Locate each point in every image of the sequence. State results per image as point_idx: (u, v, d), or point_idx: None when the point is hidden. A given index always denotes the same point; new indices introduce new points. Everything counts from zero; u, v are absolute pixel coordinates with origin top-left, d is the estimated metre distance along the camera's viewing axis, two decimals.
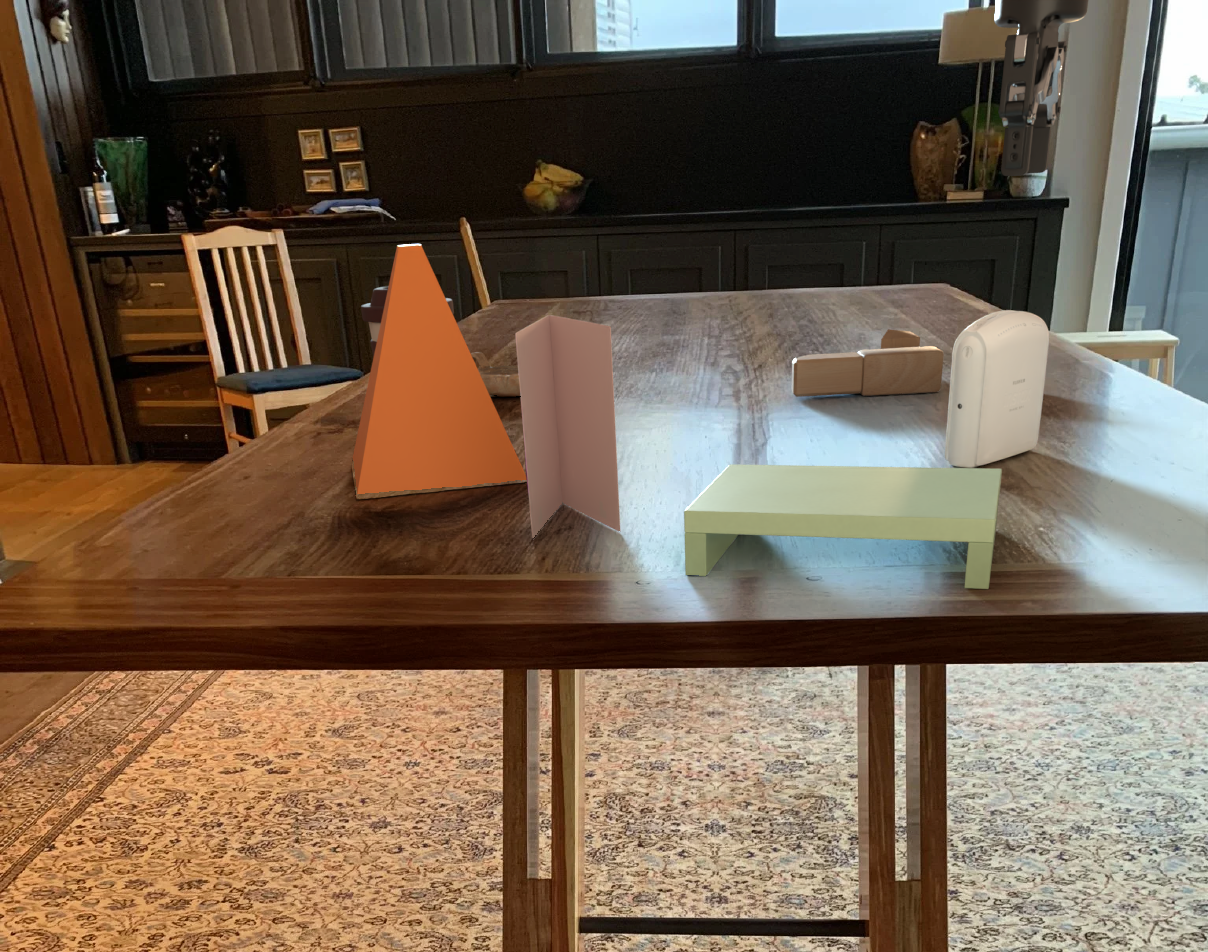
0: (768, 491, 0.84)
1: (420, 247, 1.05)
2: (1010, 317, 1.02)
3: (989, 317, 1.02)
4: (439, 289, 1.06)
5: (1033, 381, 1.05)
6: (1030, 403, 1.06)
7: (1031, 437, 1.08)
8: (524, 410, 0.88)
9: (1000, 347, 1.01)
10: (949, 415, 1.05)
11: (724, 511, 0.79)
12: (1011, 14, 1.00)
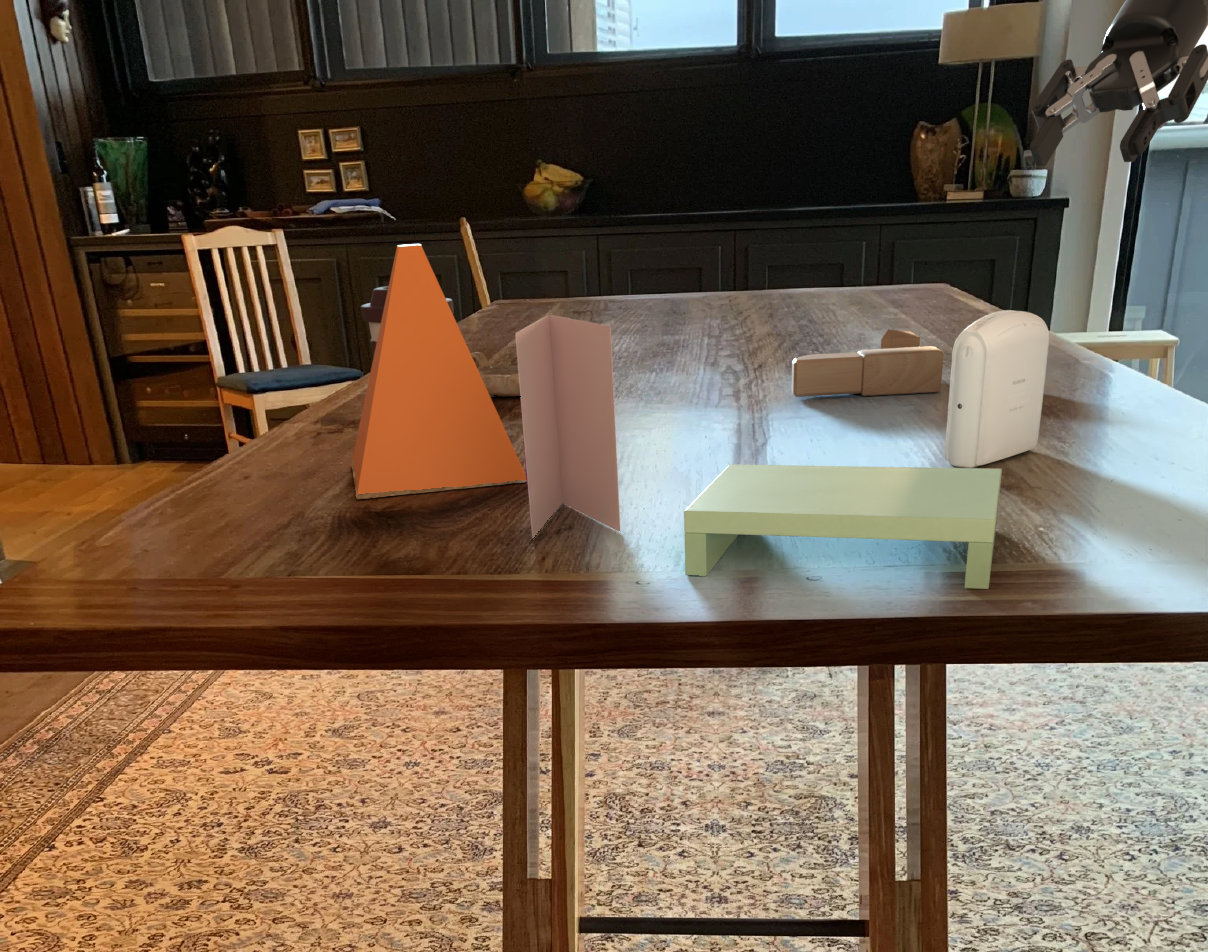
0: (768, 491, 0.84)
1: (420, 247, 1.05)
2: (1010, 317, 1.02)
3: (989, 317, 1.02)
4: (439, 289, 1.06)
5: (1033, 381, 1.05)
6: (1030, 403, 1.06)
7: (1031, 437, 1.08)
8: (524, 410, 0.88)
9: (1000, 347, 1.01)
10: (949, 415, 1.05)
11: (724, 511, 0.79)
12: (1175, 27, 1.04)
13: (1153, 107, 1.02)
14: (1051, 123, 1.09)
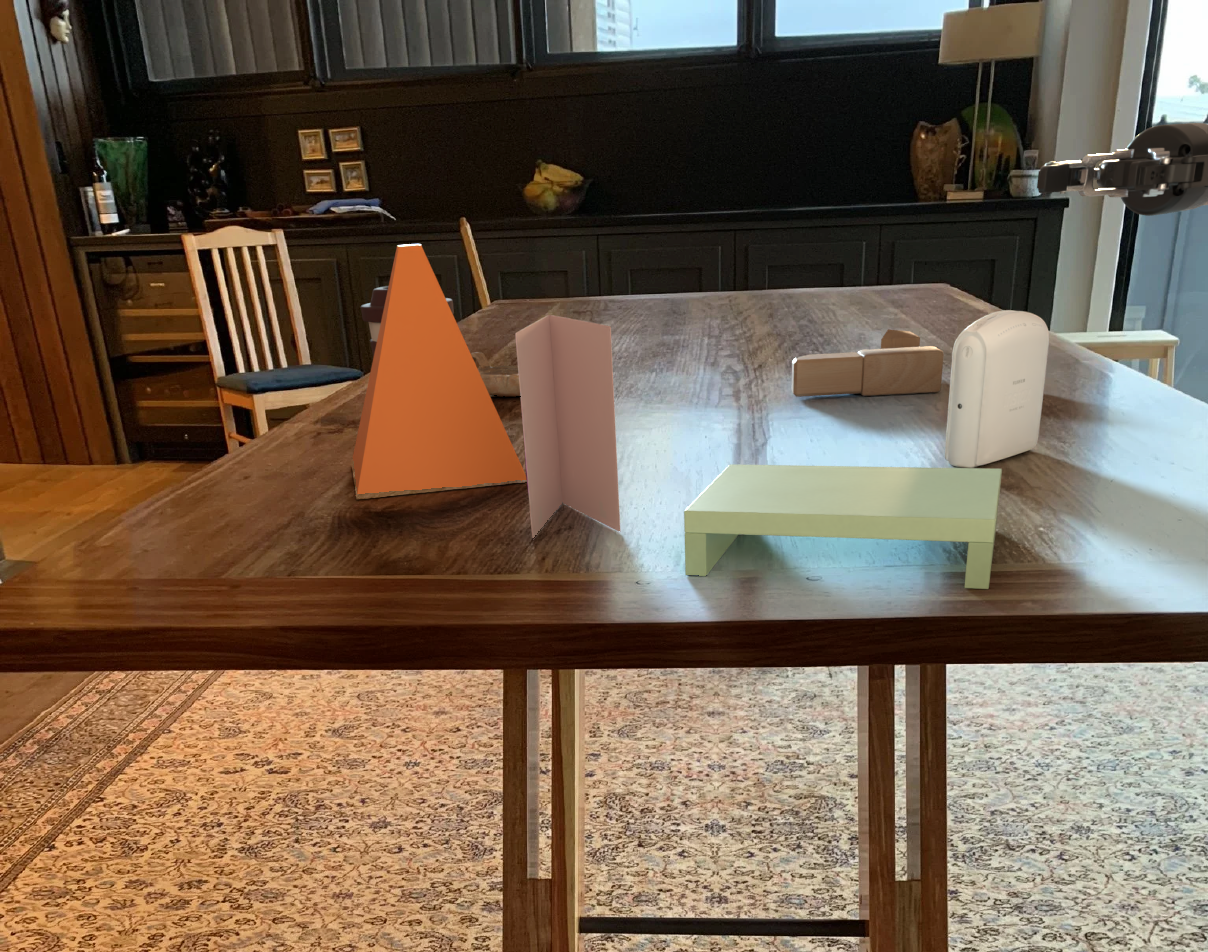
0: (768, 491, 0.84)
1: (420, 247, 1.05)
2: (1010, 317, 1.02)
3: (989, 317, 1.02)
4: (439, 289, 1.06)
5: (1033, 381, 1.05)
6: (1030, 403, 1.06)
7: (1031, 437, 1.08)
8: (524, 410, 0.88)
9: (1000, 347, 1.01)
10: (949, 415, 1.05)
11: (724, 511, 0.79)
12: (1192, 148, 1.08)
13: (1166, 160, 1.03)
14: (1063, 164, 1.09)
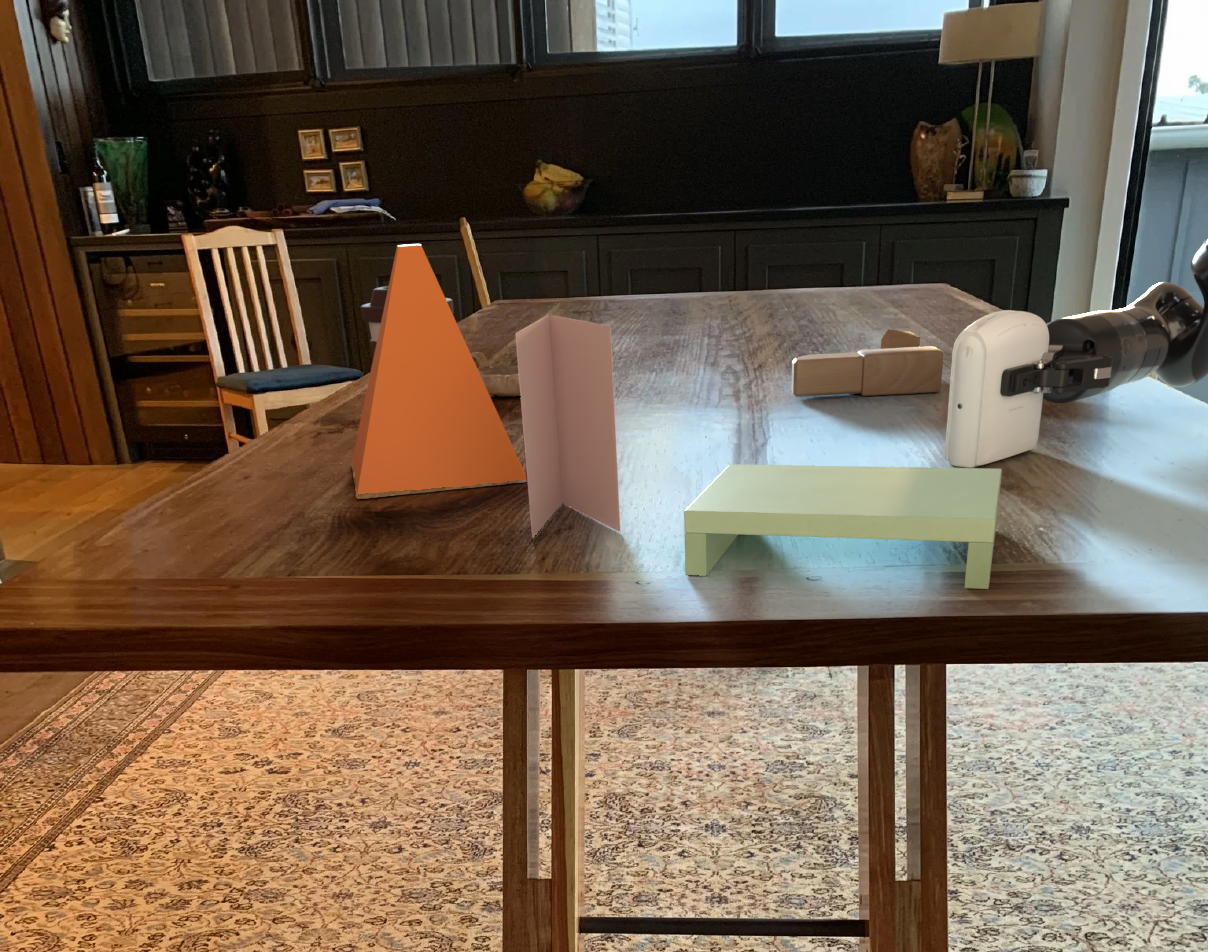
0: (768, 491, 0.84)
1: (420, 247, 1.05)
2: (1010, 317, 1.02)
3: (989, 317, 1.02)
4: (439, 289, 1.06)
5: None
6: (1030, 403, 1.06)
7: (1031, 437, 1.08)
8: (524, 410, 0.88)
9: (1000, 347, 1.01)
10: (949, 415, 1.05)
11: (724, 511, 0.79)
12: (1096, 343, 1.08)
13: (1040, 365, 1.03)
14: None
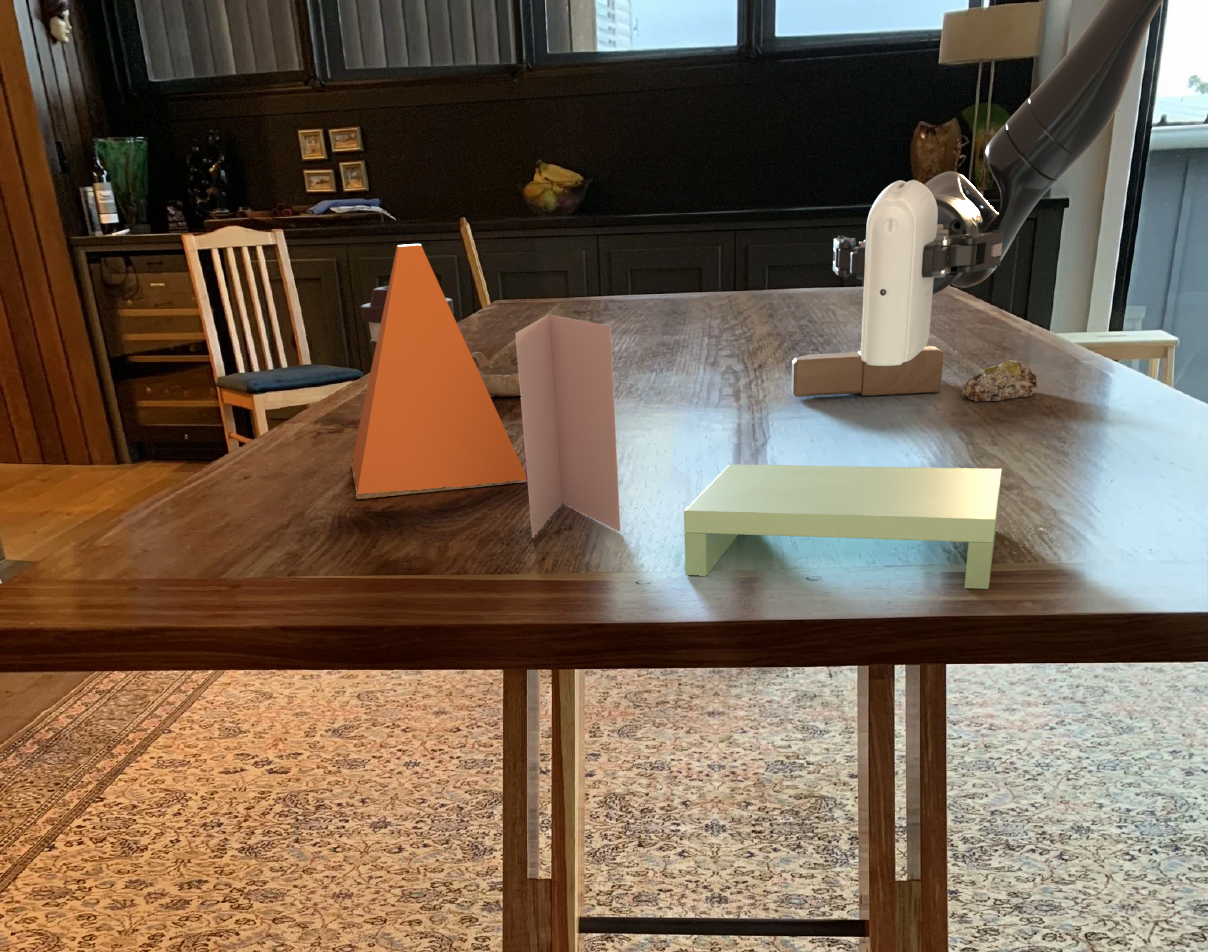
0: (768, 491, 0.84)
1: (420, 247, 1.05)
2: (918, 185, 0.88)
3: (897, 185, 0.87)
4: (439, 289, 1.06)
5: None
6: (931, 289, 0.93)
7: (929, 330, 0.96)
8: (524, 410, 0.88)
9: (923, 218, 0.87)
10: (866, 306, 0.90)
11: (724, 511, 0.79)
12: (963, 223, 0.98)
13: (947, 241, 0.91)
14: None
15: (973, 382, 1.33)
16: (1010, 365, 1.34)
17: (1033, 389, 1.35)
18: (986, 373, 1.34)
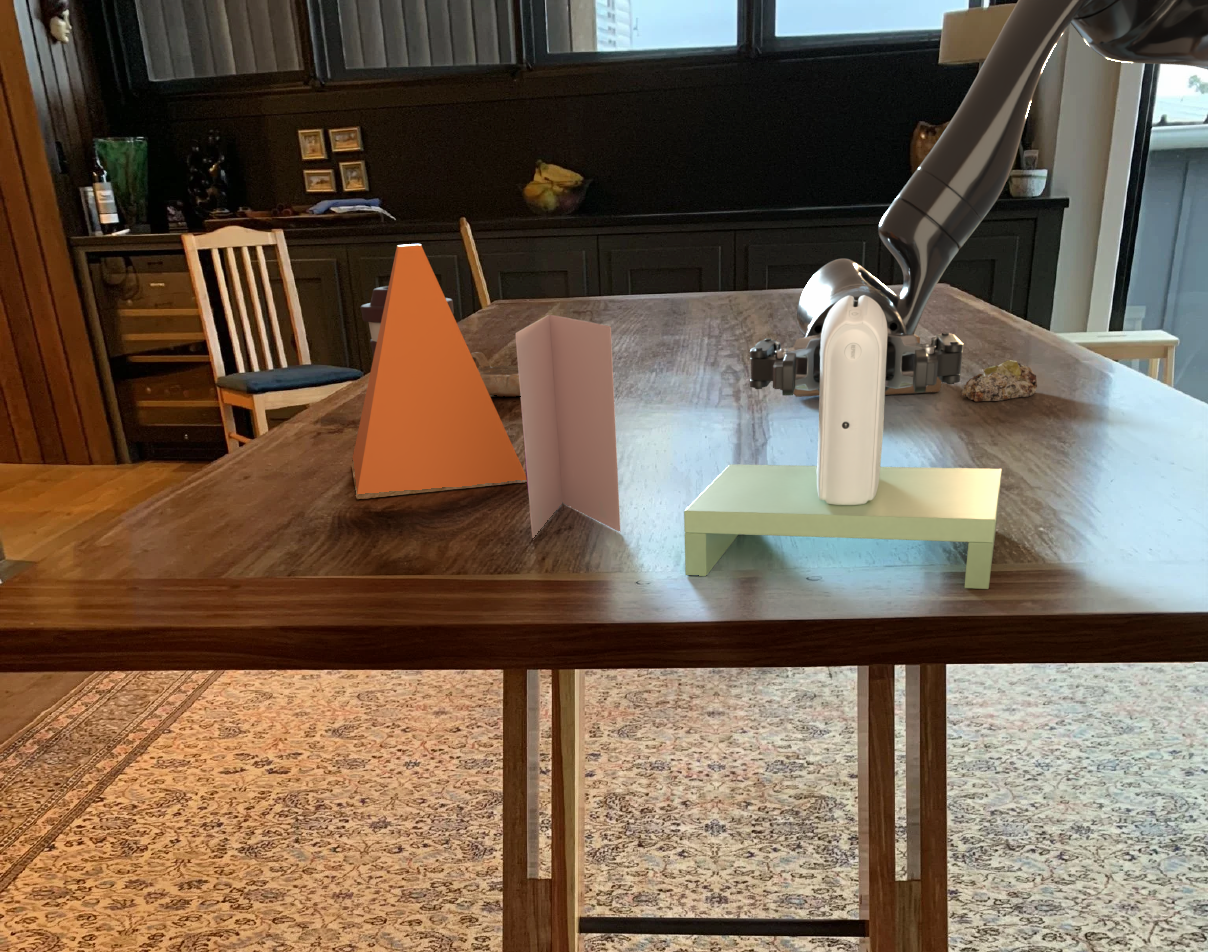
0: (768, 491, 0.84)
1: (420, 247, 1.05)
2: (873, 302, 0.77)
3: (852, 304, 0.76)
4: (439, 289, 1.06)
5: None
6: None
7: None
8: (524, 410, 0.88)
9: (886, 341, 0.75)
10: (824, 439, 0.78)
11: (724, 511, 0.79)
12: (900, 324, 0.87)
13: (932, 349, 0.80)
14: (793, 355, 0.81)
15: (973, 382, 1.33)
16: (1010, 365, 1.34)
17: (1033, 389, 1.35)
18: (986, 373, 1.34)
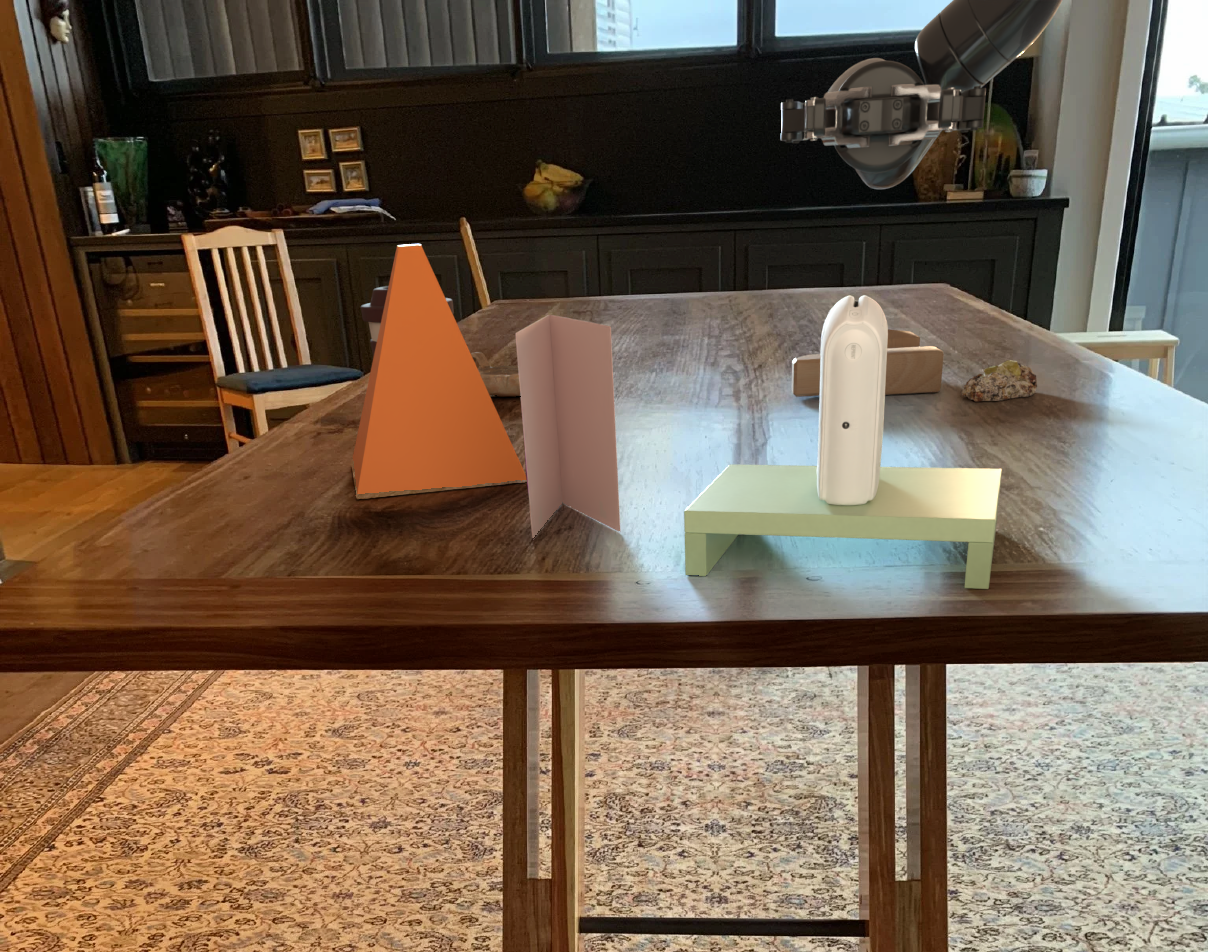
0: (768, 491, 0.84)
1: (420, 247, 1.05)
2: (873, 302, 0.77)
3: (852, 304, 0.76)
4: (439, 289, 1.06)
5: None
6: None
7: None
8: (524, 410, 0.88)
9: (886, 342, 0.75)
10: (824, 439, 0.78)
11: (724, 511, 0.79)
12: None
13: (956, 92, 0.83)
14: None
15: (973, 382, 1.33)
16: (1010, 365, 1.34)
17: (1033, 389, 1.35)
18: (986, 373, 1.34)
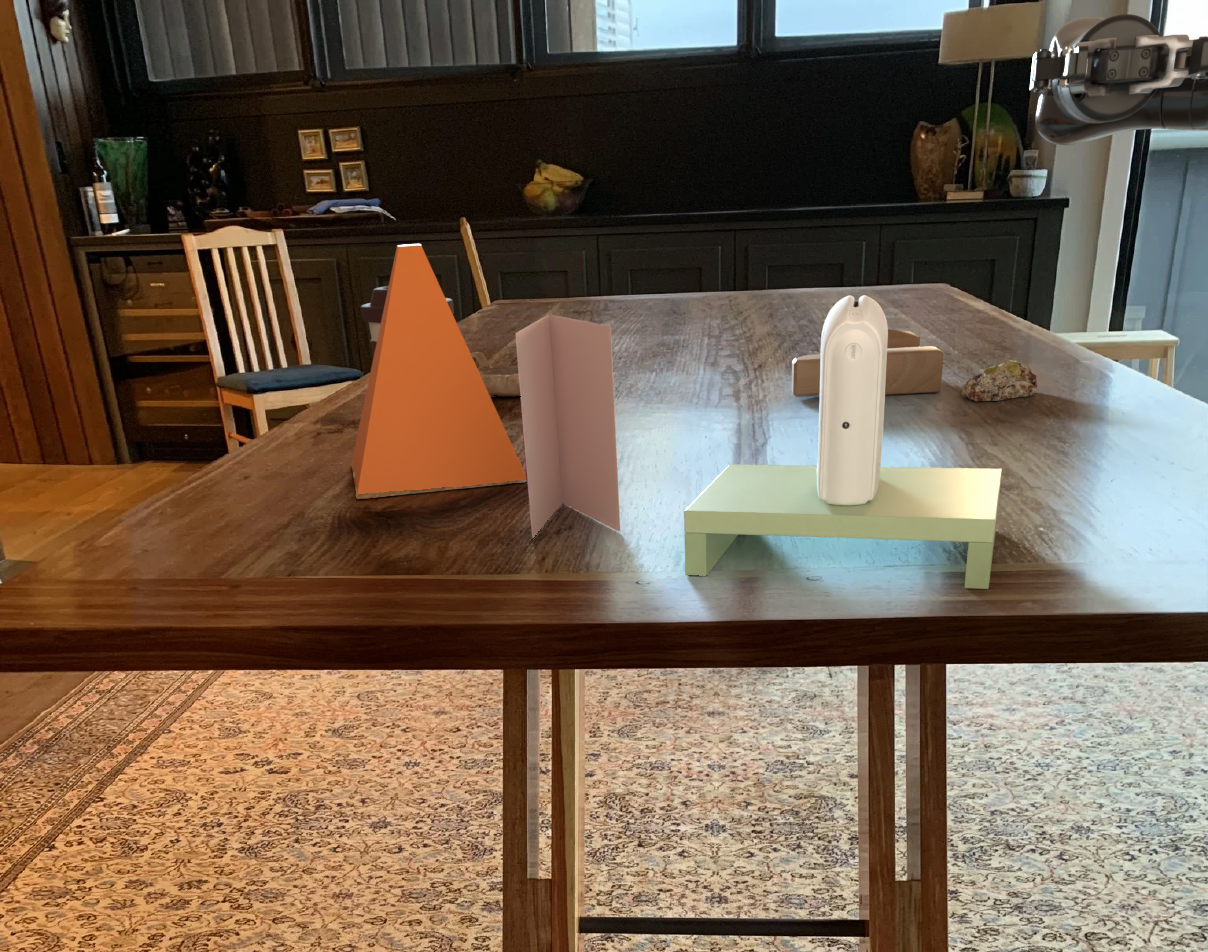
0: (768, 491, 0.84)
1: (420, 247, 1.05)
2: (873, 302, 0.77)
3: (852, 304, 0.76)
4: (439, 289, 1.06)
5: None
6: None
7: None
8: (524, 410, 0.88)
9: (886, 342, 0.75)
10: (824, 439, 0.78)
11: (724, 511, 0.79)
12: None
13: None
14: None
15: (973, 382, 1.33)
16: (1010, 365, 1.34)
17: (1033, 389, 1.35)
18: (986, 373, 1.34)
